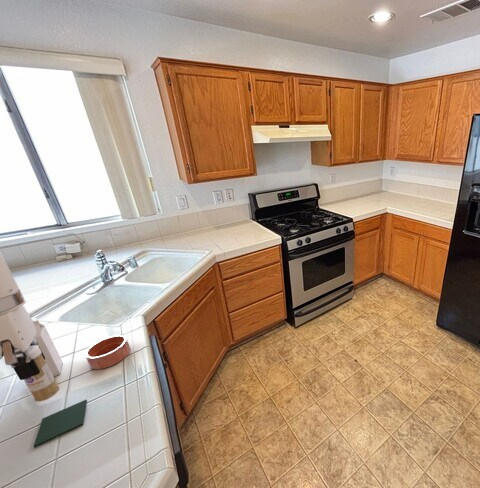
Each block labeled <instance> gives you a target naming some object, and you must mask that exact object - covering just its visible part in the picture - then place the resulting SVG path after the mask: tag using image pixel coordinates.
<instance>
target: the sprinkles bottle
mask: <svg viewBox="0 0 480 488" xmlns="http://www.w3.org/2000/svg"><path fill="white" fill-rule="evenodd" d="M20 350H21V349H20ZM27 350H28V353H29V356H30V358H31V359H34V361H35V363H36V365H37V366H38V368H39V370H40V373H39V374H37V375H35V376H32V377H29V378H27V379H24V380H23V382H24V384H25V385H26V388H27V390H28V391H29V392H30V393H31V395H32V397H33V400H34V401H35V402H37V403H38V402H39V403H40V402H43V401H46V400H49V399H50V398H52V397H54V396H55V395H56V394H57V393H58V392H59V390H60V386H59V385H58V384H57V382H56V380H55V376H54V377H53V375H52V373H51V371H50V369H49V367H48V365H47V363H46V362H45V360H44V358H43V356H42V353H41V350H40V348H39V347H38V346H37V345H33V346H29V348H28V349H27ZM18 351H19V350H18ZM20 356H21V357H24V356H23V354H22V353H21V354H18V355H16V357H20Z"/></svg>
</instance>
